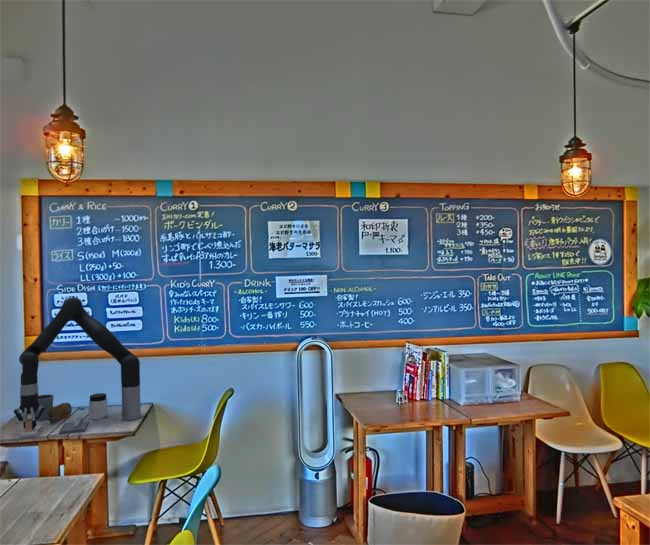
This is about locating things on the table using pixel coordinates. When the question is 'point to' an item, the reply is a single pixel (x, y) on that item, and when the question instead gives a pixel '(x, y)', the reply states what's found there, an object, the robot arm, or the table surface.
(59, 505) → the table surface
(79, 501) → the table surface
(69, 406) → the tin
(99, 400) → the jar
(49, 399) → the blue pot
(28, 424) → the white plate with block
